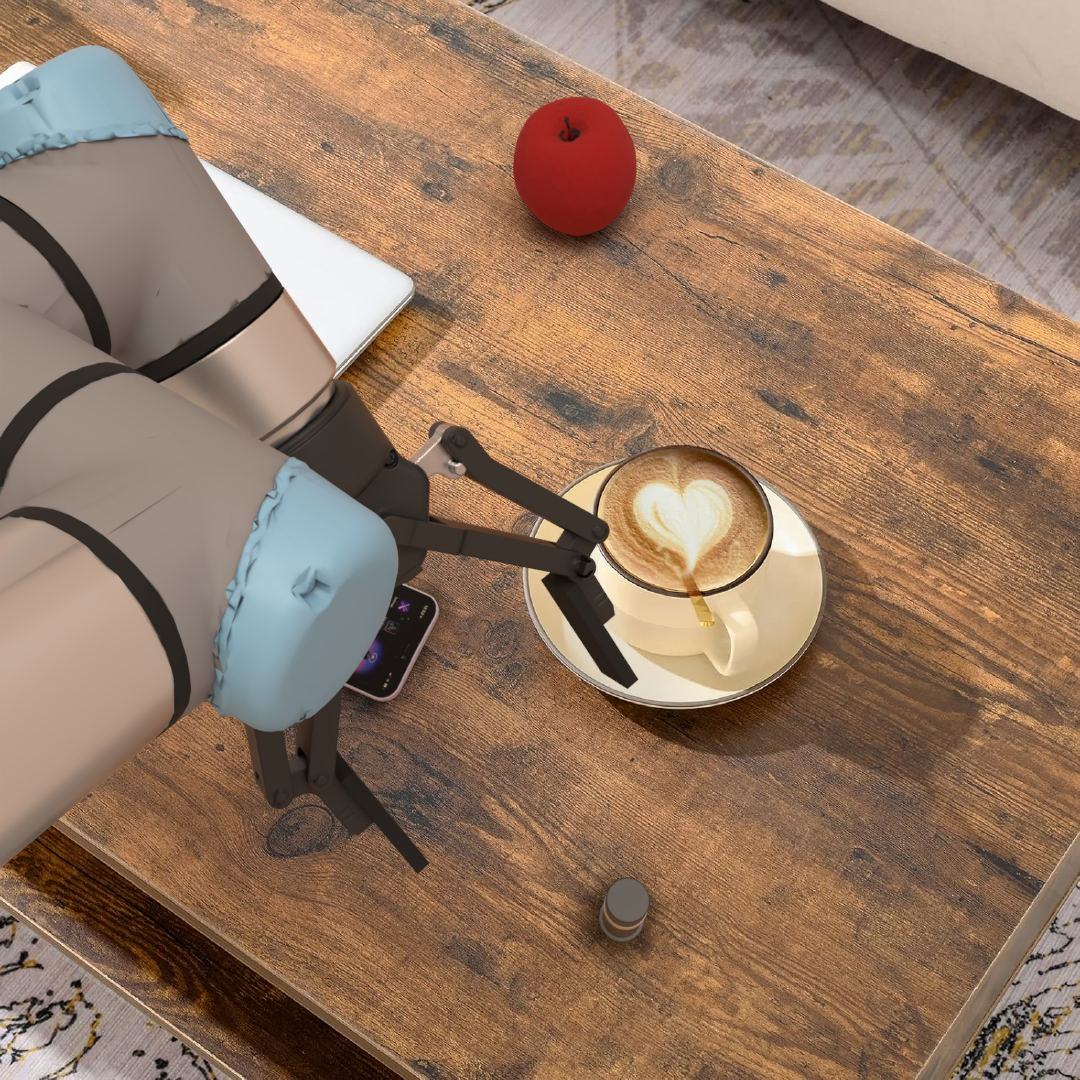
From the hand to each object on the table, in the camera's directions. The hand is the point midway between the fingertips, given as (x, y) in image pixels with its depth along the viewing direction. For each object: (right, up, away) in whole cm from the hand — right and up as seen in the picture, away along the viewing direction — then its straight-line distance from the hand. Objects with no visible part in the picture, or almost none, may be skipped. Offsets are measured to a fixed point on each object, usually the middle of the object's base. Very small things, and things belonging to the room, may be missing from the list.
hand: (520, 764), depth 58 cm
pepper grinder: (+6, -11, +9) cm, 15 cm away
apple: (+4, +36, +29) cm, 47 cm away
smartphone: (-14, +7, +17) cm, 23 cm away
